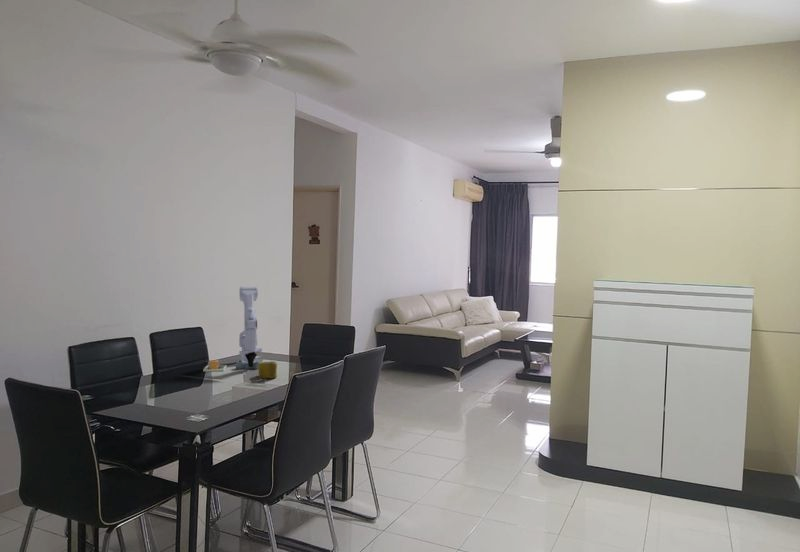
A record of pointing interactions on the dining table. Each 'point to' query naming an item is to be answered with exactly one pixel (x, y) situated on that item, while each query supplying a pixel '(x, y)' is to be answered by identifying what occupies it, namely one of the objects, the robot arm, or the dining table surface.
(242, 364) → the crank
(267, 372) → the mug
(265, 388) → the dining table surface
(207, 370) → the tray
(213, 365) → the block
